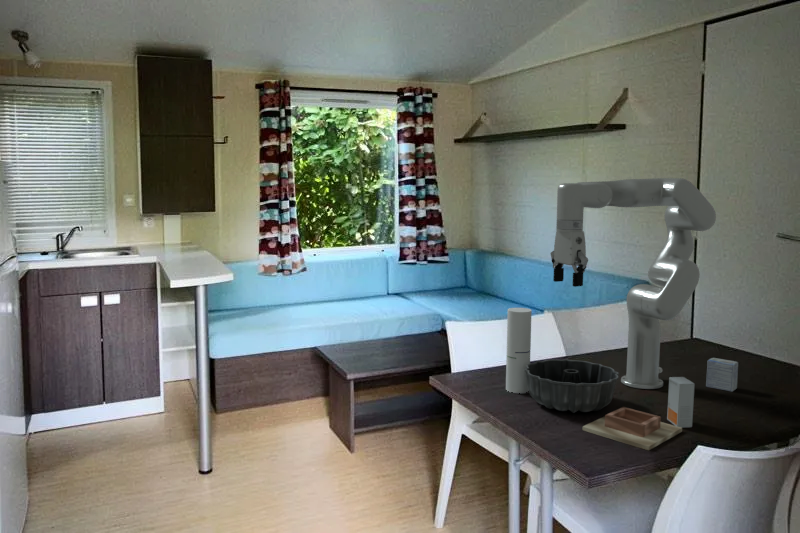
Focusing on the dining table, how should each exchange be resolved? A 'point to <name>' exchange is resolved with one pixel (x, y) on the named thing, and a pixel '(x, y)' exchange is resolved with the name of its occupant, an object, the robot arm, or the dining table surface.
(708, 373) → the medicine box
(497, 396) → the dining table surface
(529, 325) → the cylindrical container
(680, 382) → the skincare box
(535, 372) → the bundt pan
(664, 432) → the collar board
